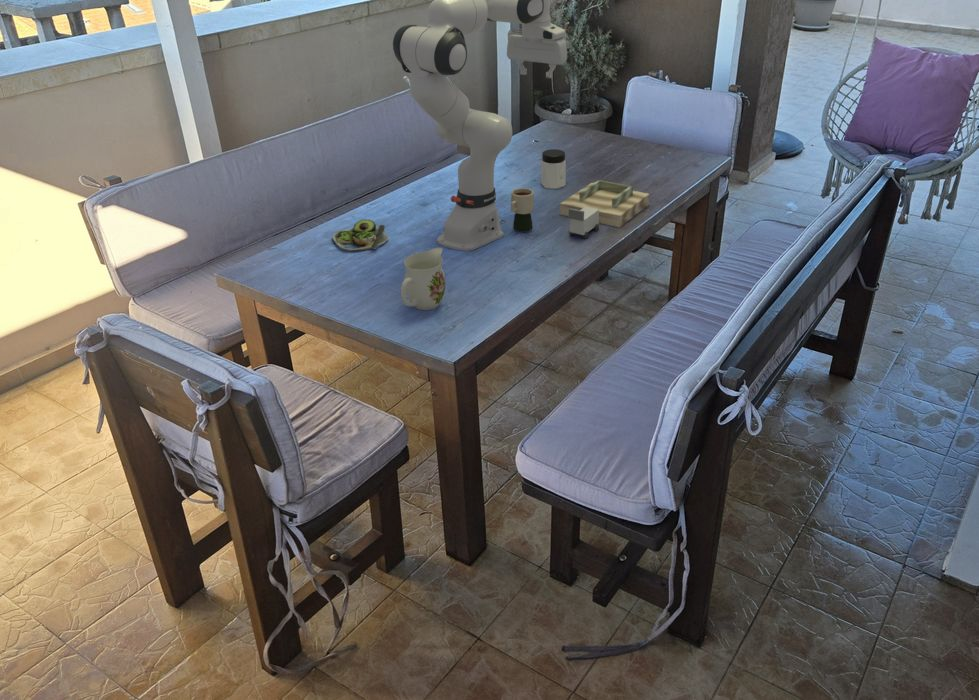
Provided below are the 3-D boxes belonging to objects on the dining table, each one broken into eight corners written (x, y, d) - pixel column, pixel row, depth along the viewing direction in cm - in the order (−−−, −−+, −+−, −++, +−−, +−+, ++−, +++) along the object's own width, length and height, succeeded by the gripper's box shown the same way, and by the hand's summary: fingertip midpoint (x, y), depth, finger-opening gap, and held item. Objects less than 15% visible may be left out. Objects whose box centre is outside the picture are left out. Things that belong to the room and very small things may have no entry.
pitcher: (388, 315, 227) (383, 269, 220) (427, 288, 240) (424, 243, 233) (421, 325, 222) (417, 278, 215) (459, 296, 235) (457, 251, 228)
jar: (553, 191, 301) (553, 158, 295) (536, 185, 306) (536, 153, 300) (570, 184, 306) (570, 152, 300) (553, 179, 312) (553, 147, 305)
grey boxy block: (583, 240, 264) (584, 212, 259) (566, 236, 267) (567, 208, 262) (599, 228, 271) (600, 200, 266) (583, 225, 274) (584, 197, 269)
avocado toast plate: (400, 248, 264) (398, 235, 262) (344, 260, 259) (342, 246, 256) (381, 226, 280) (380, 213, 277) (329, 237, 274) (327, 223, 272)
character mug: (525, 222, 278) (524, 184, 271) (542, 227, 274) (541, 189, 267) (503, 232, 271) (502, 194, 264) (520, 238, 267) (520, 199, 260)
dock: (619, 227, 272) (620, 207, 268) (560, 214, 282) (560, 194, 279) (648, 205, 287) (650, 185, 283) (591, 193, 298) (591, 174, 294)
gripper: (502, 29, 263) (503, 74, 270) (559, 34, 253) (559, 81, 260) (513, 25, 268) (513, 70, 275) (570, 31, 258) (569, 77, 265)
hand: (536, 76), depth 268 cm, fingers open, 8 cm apart
